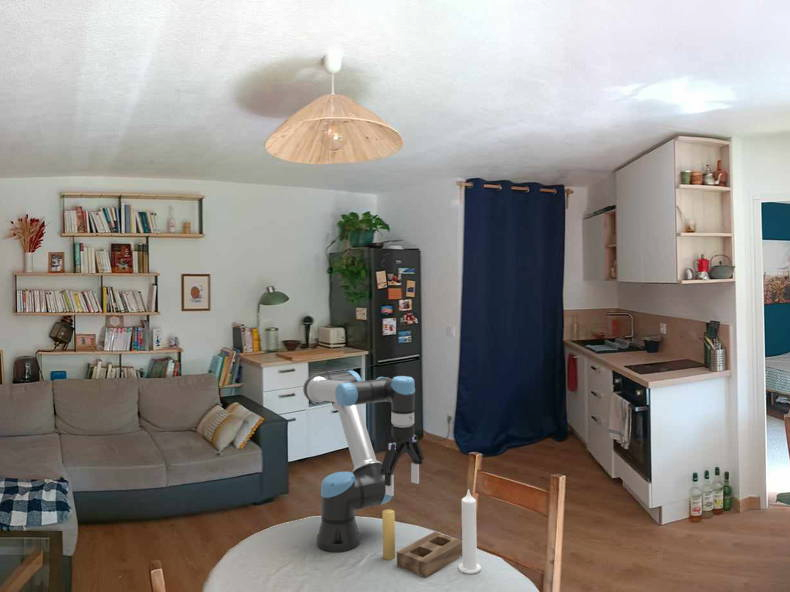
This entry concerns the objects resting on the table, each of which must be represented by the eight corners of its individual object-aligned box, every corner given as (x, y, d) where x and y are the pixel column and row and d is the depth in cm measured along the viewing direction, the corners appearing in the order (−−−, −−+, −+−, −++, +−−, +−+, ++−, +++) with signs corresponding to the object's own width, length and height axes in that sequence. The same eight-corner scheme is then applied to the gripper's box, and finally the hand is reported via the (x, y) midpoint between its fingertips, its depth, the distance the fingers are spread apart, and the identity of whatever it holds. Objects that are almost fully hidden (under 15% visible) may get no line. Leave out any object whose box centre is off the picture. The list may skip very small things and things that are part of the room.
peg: (380, 557, 189) (379, 512, 189) (388, 553, 192) (387, 508, 192) (389, 561, 186) (388, 514, 186) (397, 556, 189) (397, 511, 189)
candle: (480, 575, 176) (479, 493, 176) (457, 573, 177) (456, 492, 177) (481, 564, 183) (480, 486, 183) (459, 562, 184) (458, 485, 184)
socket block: (396, 565, 183) (396, 551, 183) (434, 544, 198) (434, 531, 198) (426, 577, 175) (426, 563, 175) (463, 554, 190) (463, 541, 190)
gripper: (387, 434, 175) (387, 503, 175) (434, 418, 194) (433, 480, 195) (369, 430, 179) (368, 497, 180) (416, 415, 199) (416, 475, 200)
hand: (402, 488), depth 188 cm, fingers open, 13 cm apart
